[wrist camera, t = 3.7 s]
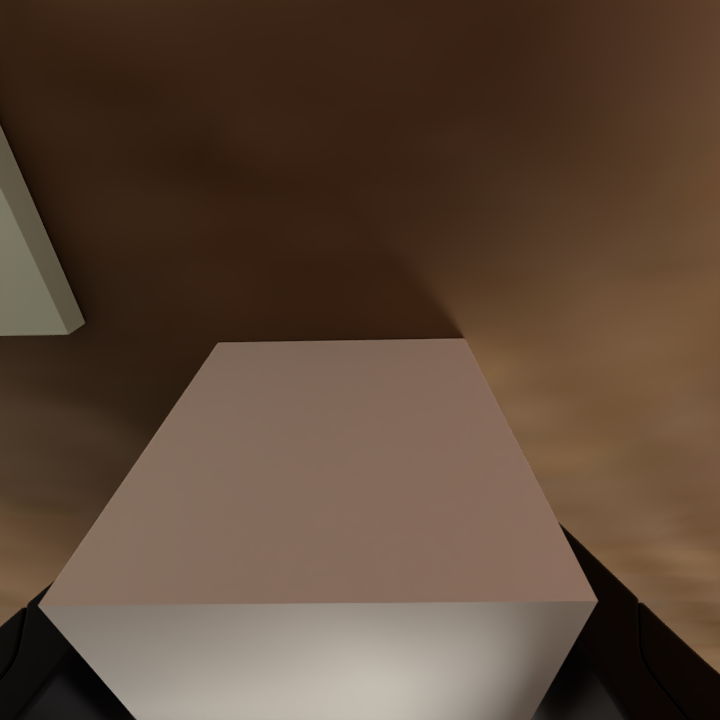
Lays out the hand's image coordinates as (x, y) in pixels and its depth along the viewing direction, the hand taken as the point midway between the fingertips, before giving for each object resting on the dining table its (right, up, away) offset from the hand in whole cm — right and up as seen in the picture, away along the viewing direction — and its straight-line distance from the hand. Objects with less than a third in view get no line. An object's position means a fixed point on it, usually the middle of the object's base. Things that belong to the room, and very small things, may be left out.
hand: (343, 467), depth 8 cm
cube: (0, +1, +1) cm, 1 cm away
